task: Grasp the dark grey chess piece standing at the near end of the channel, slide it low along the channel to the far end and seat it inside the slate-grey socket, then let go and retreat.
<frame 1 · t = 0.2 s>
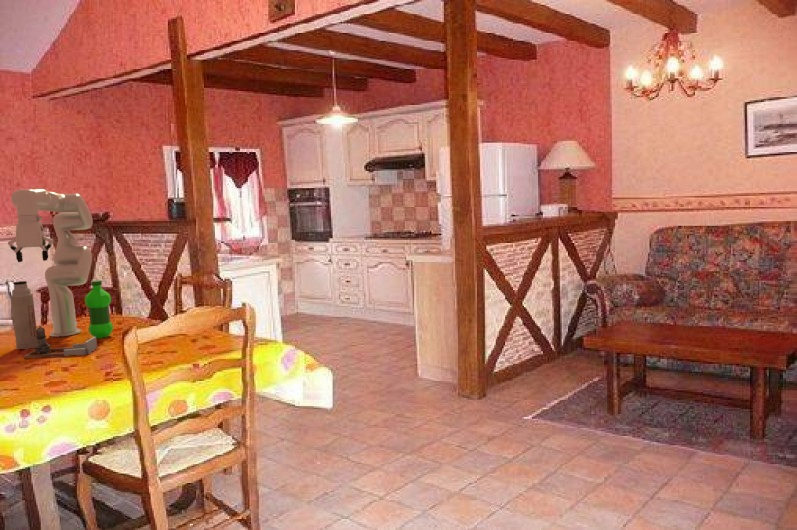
hand: (32, 261, 270), 36 cm above the table, tool pointing down, fingers open, 9 cm apart
channel: (51, 354, 261), on the table
socket: (79, 352, 262), on the table
dark grey chess piece: (43, 355, 260), on the table
thermos bottle: (27, 347, 275), on the table
plastic bottle: (101, 337, 289), on the table
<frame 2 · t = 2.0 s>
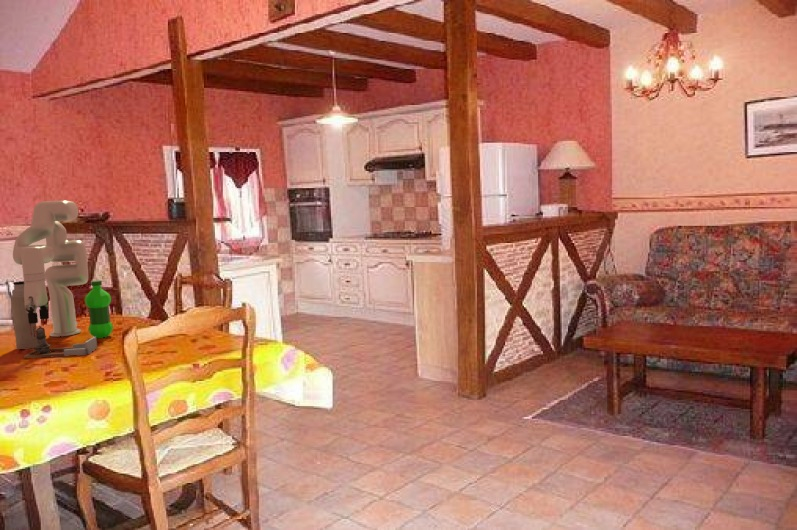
hand: (39, 321, 258), 14 cm above the table, tool pointing down, fingers open, 9 cm apart
nothing on the table moved.
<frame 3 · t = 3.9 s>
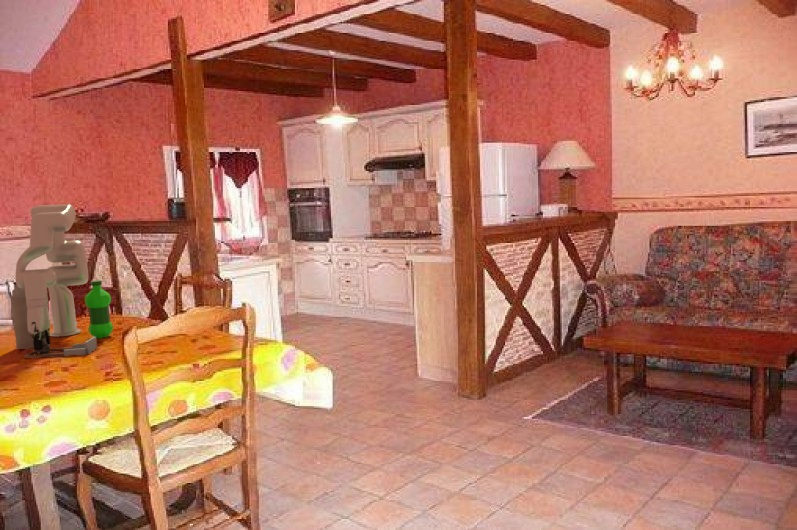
hand: (42, 347, 260), 3 cm above the table, tool pointing down, fingers closed on dark grey chess piece, 5 cm apart
dark grey chess piece: (43, 355, 260), on the table, touching gripper
everything else where it was.
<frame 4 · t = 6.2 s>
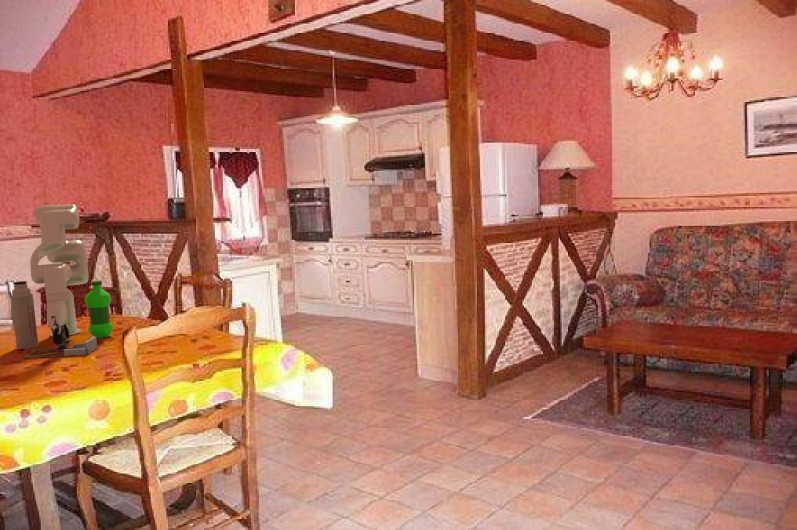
hand: (61, 341, 261), 5 cm above the table, tool pointing down, fingers closed on dark grey chess piece, 5 cm apart
dark grey chess piece: (62, 349, 261), point 2 cm above the table, touching gripper
everything else where it was.
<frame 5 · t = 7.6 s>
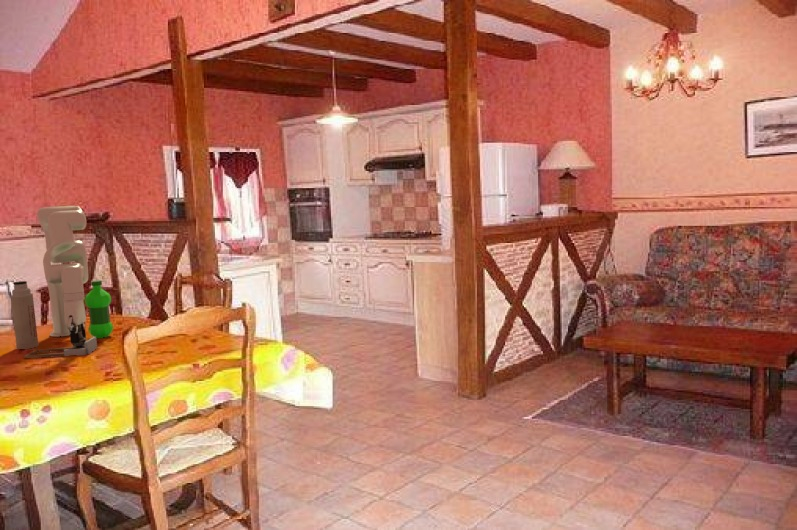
hand: (78, 340, 261), 5 cm above the table, tool pointing down, fingers closed on dark grey chess piece, 5 cm apart
dark grey chess piece: (79, 348, 262), point 2 cm above the table, touching gripper
everything else where it was.
when the fingers open (4 cm above the table, at t = 8.6 s): dark grey chess piece drops 1 cm, on the table.
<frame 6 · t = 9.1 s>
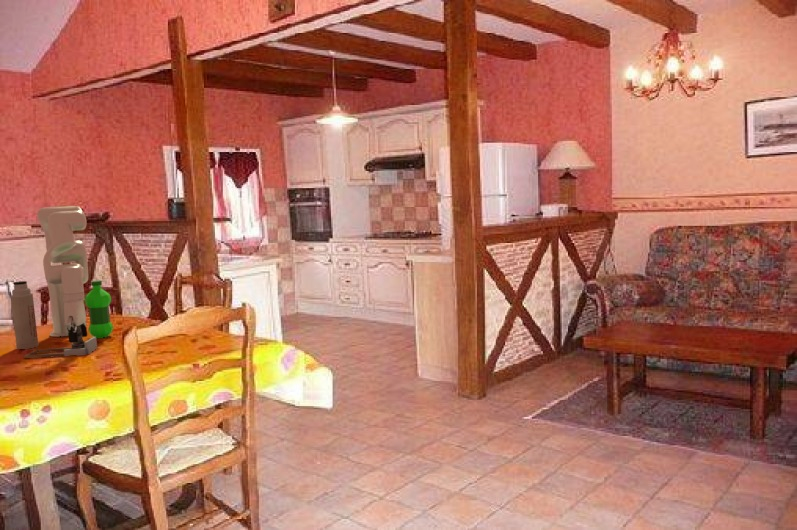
hand: (78, 339, 261), 5 cm above the table, tool pointing down, fingers open, 9 cm apart
dark grey chess piece: (79, 352, 262), on the table
everything else where it was.
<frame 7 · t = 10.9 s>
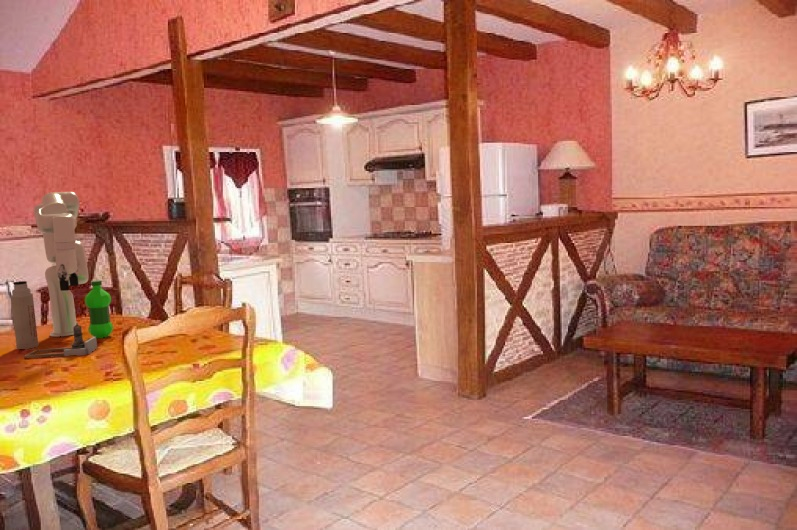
hand: (69, 288, 265), 25 cm above the table, tool pointing down, fingers open, 9 cm apart
nothing on the table moved.
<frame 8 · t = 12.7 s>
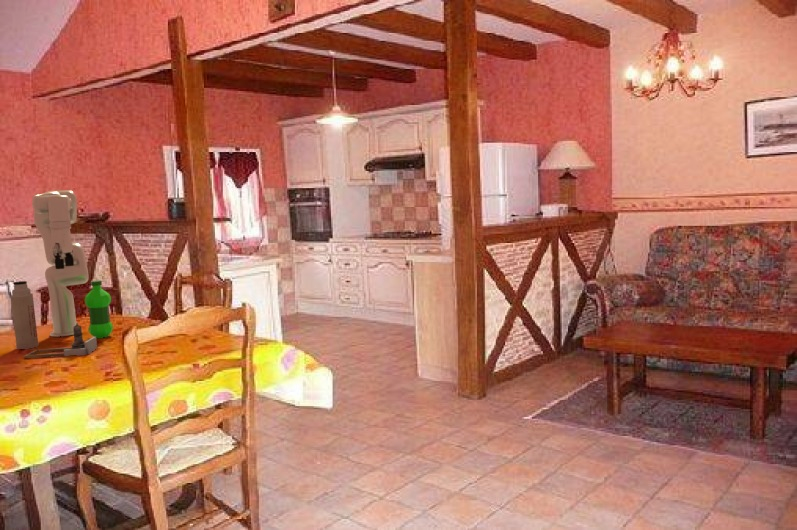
hand: (65, 267, 269), 33 cm above the table, tool pointing down, fingers open, 9 cm apart
nothing on the table moved.
at the end: dark grey chess piece 0.2 cm off-centre on the socket, point 0.0 cm above the socket's base; dark grey chess piece tilted 0°; the gripper is holding nothing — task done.
